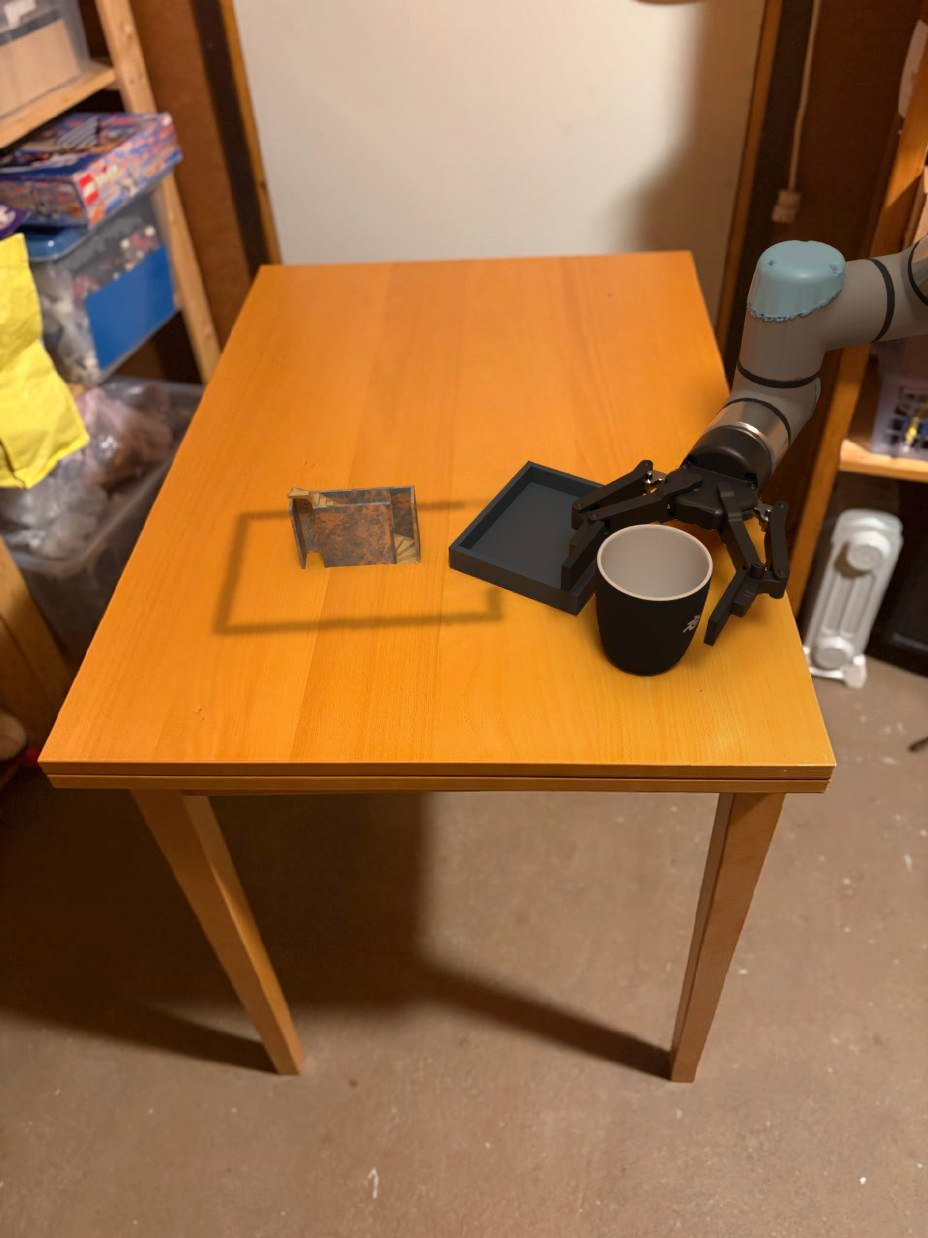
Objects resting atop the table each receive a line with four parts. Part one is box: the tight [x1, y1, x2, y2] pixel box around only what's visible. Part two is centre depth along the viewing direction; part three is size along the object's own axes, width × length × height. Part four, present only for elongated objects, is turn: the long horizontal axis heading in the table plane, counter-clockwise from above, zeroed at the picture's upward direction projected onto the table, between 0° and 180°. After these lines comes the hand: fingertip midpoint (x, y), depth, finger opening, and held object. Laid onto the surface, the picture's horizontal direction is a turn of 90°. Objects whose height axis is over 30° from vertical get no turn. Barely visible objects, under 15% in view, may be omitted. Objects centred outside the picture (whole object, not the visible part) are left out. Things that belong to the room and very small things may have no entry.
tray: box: [447, 460, 608, 617], centre depth 89 cm, size 13×15×2 cm
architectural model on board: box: [286, 484, 422, 570], centre depth 86 cm, size 11×3×10 cm, turn 92°
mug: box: [594, 523, 714, 676], centre depth 77 cm, size 12×9×10 cm
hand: (635, 605), depth 73 cm, fingers open, 12 cm apart
